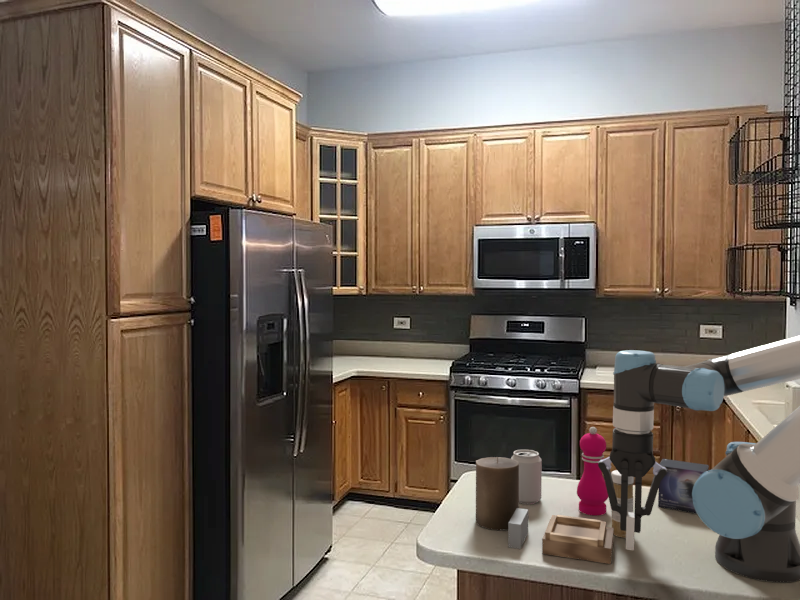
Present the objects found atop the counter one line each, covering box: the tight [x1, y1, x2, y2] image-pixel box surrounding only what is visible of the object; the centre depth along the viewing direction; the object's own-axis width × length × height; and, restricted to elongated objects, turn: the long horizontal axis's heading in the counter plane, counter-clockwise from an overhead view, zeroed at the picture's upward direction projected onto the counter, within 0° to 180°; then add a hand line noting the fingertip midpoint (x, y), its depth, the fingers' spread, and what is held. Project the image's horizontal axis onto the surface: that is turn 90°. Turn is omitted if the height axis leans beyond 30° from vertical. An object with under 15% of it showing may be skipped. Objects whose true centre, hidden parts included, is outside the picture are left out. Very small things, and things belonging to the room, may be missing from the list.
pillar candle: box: [475, 456, 520, 531], centre depth 143 cm, size 10×10×15 cm
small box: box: [657, 458, 710, 515], centre depth 152 cm, size 11×6×10 cm, turn 60°
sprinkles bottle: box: [611, 469, 635, 539], centre depth 136 cm, size 5×5×14 cm
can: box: [510, 449, 543, 505], centre depth 158 cm, size 8×8×12 cm
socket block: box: [541, 514, 615, 565], centre depth 130 cm, size 13×11×4 cm
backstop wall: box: [507, 507, 529, 550], centre depth 134 cm, size 2×9×5 cm, turn 159°
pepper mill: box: [576, 426, 609, 517], centre depth 150 cm, size 7×7×20 cm
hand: (629, 546), depth 126 cm, fingers closed
